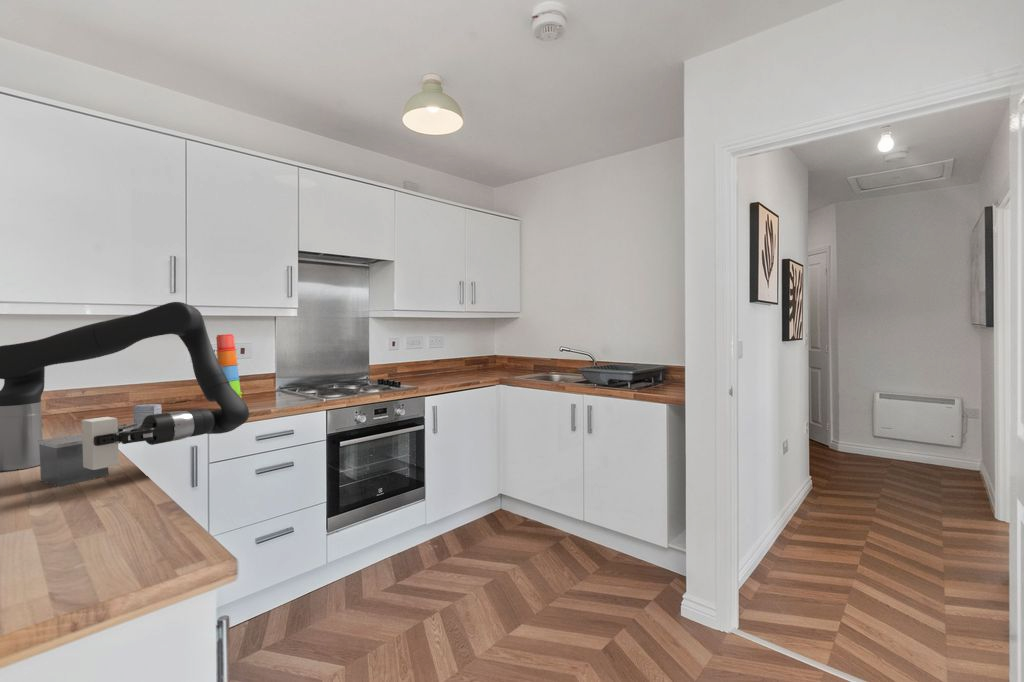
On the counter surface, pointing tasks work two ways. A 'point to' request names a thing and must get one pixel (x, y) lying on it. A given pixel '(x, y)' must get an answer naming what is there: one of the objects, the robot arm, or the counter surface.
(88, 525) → the counter surface
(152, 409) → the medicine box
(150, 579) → the counter surface
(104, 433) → the cream block
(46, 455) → the block
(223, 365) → the stacking cups
